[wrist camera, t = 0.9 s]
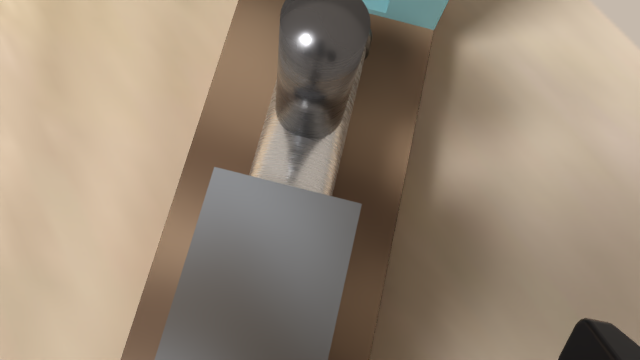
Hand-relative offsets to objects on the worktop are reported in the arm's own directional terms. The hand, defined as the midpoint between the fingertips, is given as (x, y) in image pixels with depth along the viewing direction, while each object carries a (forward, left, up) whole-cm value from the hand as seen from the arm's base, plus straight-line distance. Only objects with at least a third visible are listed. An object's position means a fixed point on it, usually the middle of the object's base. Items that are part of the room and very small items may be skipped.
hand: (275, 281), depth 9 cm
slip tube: (+4, 0, -11) cm, 12 cm away
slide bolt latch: (+5, 0, -14) cm, 15 cm away
